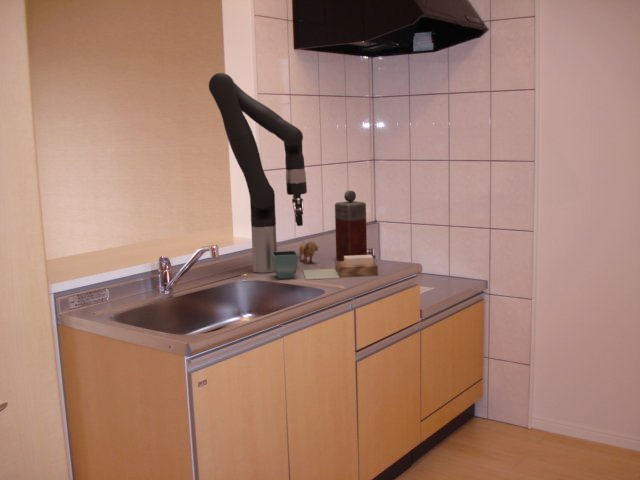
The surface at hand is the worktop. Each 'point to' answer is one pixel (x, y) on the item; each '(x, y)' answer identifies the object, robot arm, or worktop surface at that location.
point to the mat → (320, 274)
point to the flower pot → (285, 263)
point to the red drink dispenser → (350, 227)
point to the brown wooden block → (355, 269)
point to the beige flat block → (358, 260)
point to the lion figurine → (308, 251)
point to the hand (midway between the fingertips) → (299, 224)
